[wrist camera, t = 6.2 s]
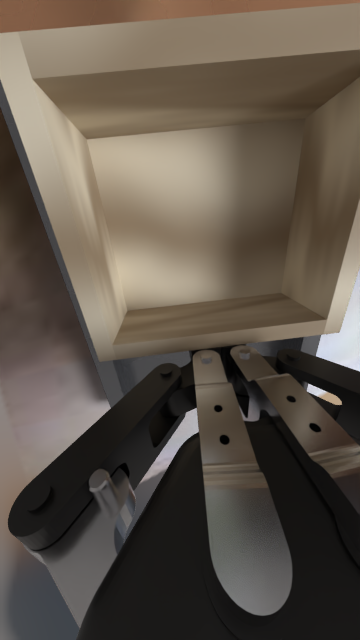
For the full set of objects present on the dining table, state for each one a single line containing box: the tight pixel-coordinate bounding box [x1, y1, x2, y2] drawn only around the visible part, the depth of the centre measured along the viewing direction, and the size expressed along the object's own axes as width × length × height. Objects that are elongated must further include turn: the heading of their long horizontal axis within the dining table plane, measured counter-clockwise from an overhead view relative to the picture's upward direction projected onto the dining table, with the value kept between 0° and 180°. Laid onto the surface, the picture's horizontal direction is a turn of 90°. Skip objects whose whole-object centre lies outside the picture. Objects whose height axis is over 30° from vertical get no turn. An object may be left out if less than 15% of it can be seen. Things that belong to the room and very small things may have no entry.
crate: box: [0, 3, 360, 362], centre depth 9 cm, size 10×12×5 cm
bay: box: [0, 0, 360, 408], centre depth 12 cm, size 21×15×3 cm
